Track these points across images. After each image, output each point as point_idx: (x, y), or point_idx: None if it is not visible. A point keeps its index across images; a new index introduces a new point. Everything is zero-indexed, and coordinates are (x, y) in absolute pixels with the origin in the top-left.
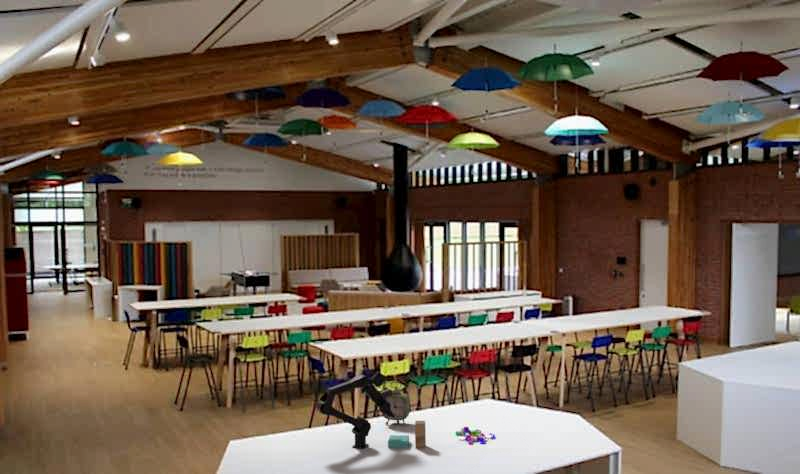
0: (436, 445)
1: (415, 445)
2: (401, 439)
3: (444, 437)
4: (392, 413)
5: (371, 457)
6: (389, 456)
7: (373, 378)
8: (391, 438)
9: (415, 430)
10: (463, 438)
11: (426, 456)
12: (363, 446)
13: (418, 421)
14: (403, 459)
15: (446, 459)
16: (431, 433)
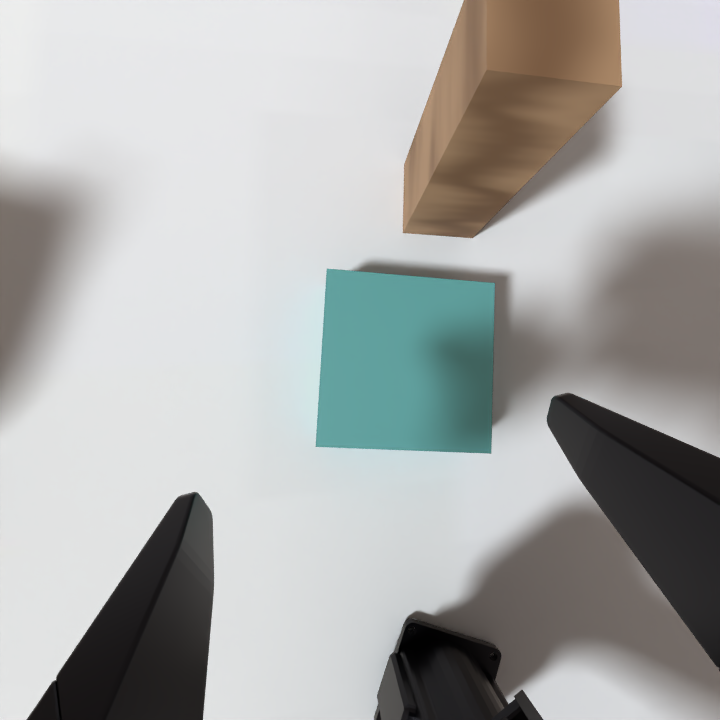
0: (402, 89)
1: (481, 228)
2: (446, 333)
3: (208, 14)
4: (667, 447)
5: None
6: (643, 417)
7: None
8: (417, 426)
9: (555, 149)
10: None
11: (626, 169)
12: (473, 656)
13: (521, 33)
14: (690, 317)
15: (669, 52)
16: (89, 102)
